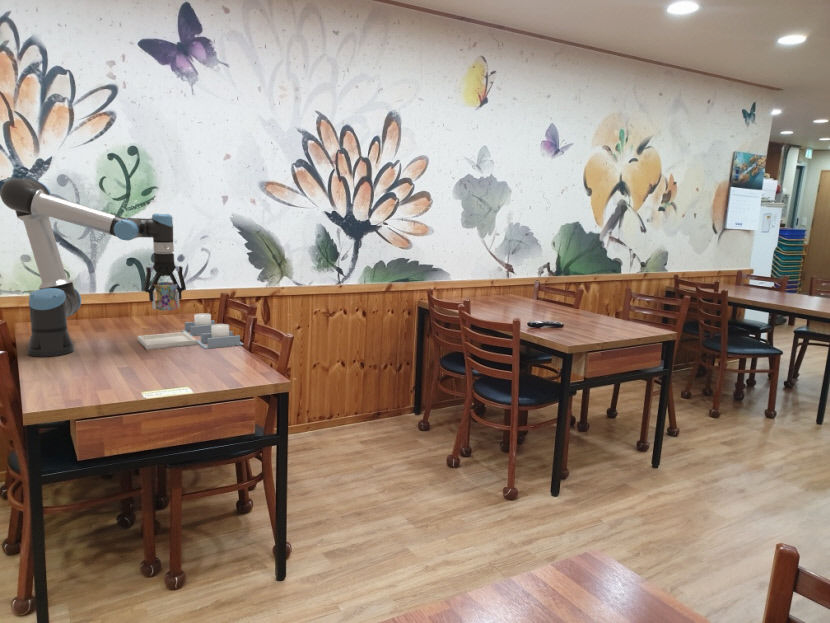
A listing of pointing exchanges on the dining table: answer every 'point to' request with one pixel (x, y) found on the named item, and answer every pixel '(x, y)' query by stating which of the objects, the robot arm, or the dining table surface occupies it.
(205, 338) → the rack
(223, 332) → the white rounded egg
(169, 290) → the mug
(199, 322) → the white glossy dome
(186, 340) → the tray
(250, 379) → the dining table surface
